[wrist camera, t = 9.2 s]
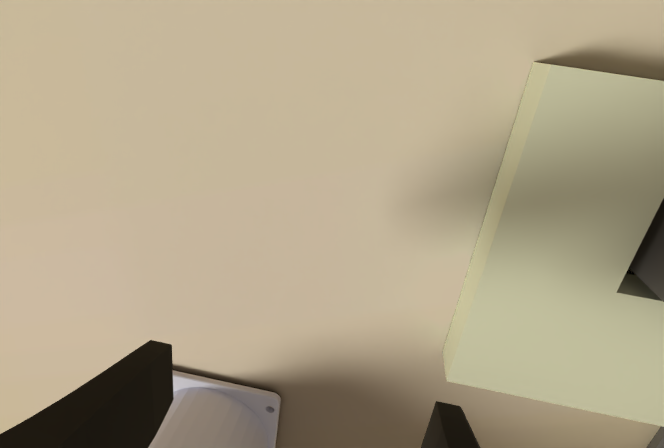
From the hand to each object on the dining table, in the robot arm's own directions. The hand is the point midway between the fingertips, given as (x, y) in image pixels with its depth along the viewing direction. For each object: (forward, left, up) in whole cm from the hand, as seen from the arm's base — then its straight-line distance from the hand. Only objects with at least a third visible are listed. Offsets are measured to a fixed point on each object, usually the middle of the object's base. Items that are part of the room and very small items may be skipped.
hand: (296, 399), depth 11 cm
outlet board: (+2, -13, -9) cm, 16 cm away
